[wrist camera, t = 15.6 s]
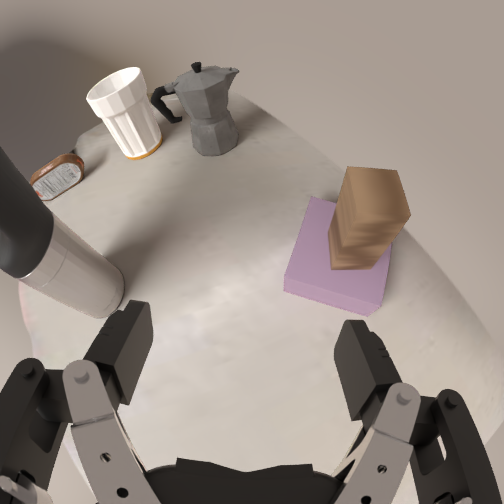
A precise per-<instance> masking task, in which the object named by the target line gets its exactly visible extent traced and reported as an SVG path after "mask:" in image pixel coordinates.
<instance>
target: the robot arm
mask: <svg viewBox="0 0 504 504" xmlns="http://www.w3.org/2000/svg"><path fill="white" fill-rule="evenodd" d="M0 269H2V270H3V271H4V272H6V273H8V274H9V275H11V276H12V277H14V278H16V279H17V280H19V281H21V282H23V283H24V284H26V285H28V286H30V287H32V288H34V289H36V290H38V291H39V292H41V293H43V294H45V295H47V296H49V297H51V298H53V299H55V300H57V301H59V302H61V303H63V304H65V305H67V306H69V307H71V308H74V309H76V310H78V311H80V312H82V313H84V314H87V315H89V316H91V317H94V318H103V317H106V316H108V315H110V314H111V313H112V312H113V311H114V310H116V308H117V307H118V305H119V304H120V302H121V300H122V297H123V293H124V280H123V276H122V274H121V272H120V271H119V270H118V268H116V267H115V266H114V265H113V264H111V263H110V262H109V261H108V260H106V259H105V258H104V257H103V256H102V255H100V254H99V253H98V252H97V251H96V250H94V249H93V248H92V247H91V246H90V245H88V244H87V243H86V242H85V241H84V240H83V239H81V238H80V237H79V236H78V235H77V234H76V233H75V232H73V231H72V230H71V229H70V228H69V227H68V226H67V225H66V224H65V223H63V222H62V221H61V220H60V219H59V218H58V217H57V216H56V215H55V214H54V213H52V212H51V211H50V210H49V209H48V208H47V207H46V206H45V205H44V203H43V202H42V200H41V199H40V197H39V196H38V194H37V193H36V191H35V190H34V188H33V187H32V186H31V185H30V184H29V182H28V181H27V180H26V179H25V178H24V177H23V175H22V174H21V173H20V172H19V171H18V169H17V168H16V167H15V166H14V164H13V163H12V162H11V160H10V159H9V158H8V156H7V155H6V154H5V152H4V151H3V149H2V148H1V147H0ZM152 342H153V326H152V319H151V311H150V305H149V303H148V302H142V301H136V300H130V301H129V303H128V304H127V306H126V307H125V309H124V311H121V310H117V311H116V312H115V313H113V314H112V315H110V316H109V317H108V319H107V320H106V322H105V324H104V326H103V327H102V328H101V330H100V332H99V334H98V335H97V336H96V338H95V340H94V341H93V343H92V345H91V346H90V348H89V350H88V351H87V353H86V355H85V356H84V358H83V360H77V361H74V362H72V363H70V364H69V365H68V366H67V367H66V368H65V369H64V370H51V369H45V368H44V366H43V364H42V363H41V362H40V361H39V360H38V359H35V358H27V359H24V360H22V361H21V362H19V363H18V364H17V365H16V367H15V368H14V370H13V372H12V373H11V375H10V377H9V379H8V380H7V382H6V384H5V385H4V387H3V389H2V391H1V393H0V504H53V501H52V499H51V497H50V495H49V494H48V493H47V489H48V485H49V481H50V478H51V474H52V471H53V467H54V464H55V461H56V457H57V454H58V451H59V448H60V445H61V442H62V439H63V436H64V433H65V431H66V428H67V425H68V423H73V425H71V433H72V436H73V440H74V443H75V446H76V449H77V452H78V455H79V458H80V460H81V463H82V466H83V468H84V471H85V473H86V476H87V478H88V481H89V483H90V485H91V488H92V490H93V492H94V494H95V496H96V499H97V501H98V503H96V504H391V503H392V501H393V498H394V496H395V494H396V492H397V490H398V487H399V485H400V483H401V480H402V478H403V475H404V473H405V470H406V468H407V465H408V462H409V461H410V465H411V469H412V473H413V477H414V482H415V486H416V491H417V495H418V500H419V504H502V500H501V497H500V493H499V489H498V486H497V482H496V479H495V476H494V473H493V470H492V467H491V464H490V461H489V458H488V456H487V453H486V450H485V448H484V445H483V443H482V440H481V438H480V435H479V433H478V431H477V428H476V426H475V424H474V421H473V419H472V417H471V415H470V412H469V410H468V408H467V406H466V404H465V402H464V400H463V398H462V396H461V395H460V394H459V393H458V392H456V391H454V390H451V389H445V390H442V391H441V392H440V393H439V394H438V396H437V397H436V398H435V397H426V396H420V395H419V393H418V391H417V390H416V389H415V388H414V387H413V386H411V385H409V384H407V383H403V382H402V380H401V378H400V376H399V374H398V372H397V370H396V368H395V365H394V363H393V361H392V359H391V357H389V356H390V355H389V353H388V351H387V350H386V347H385V345H384V343H383V341H382V339H380V338H379V337H378V336H377V335H376V334H375V333H374V332H370V331H369V329H368V327H367V325H366V323H365V321H364V320H346V321H345V322H344V324H343V327H342V329H341V332H340V335H339V337H338V340H337V342H336V345H335V348H334V360H335V364H336V367H337V371H338V374H339V377H340V381H341V384H342V388H343V391H344V395H345V398H346V402H347V406H348V409H349V413H350V417H351V420H352V421H356V420H362V423H363V425H362V426H361V428H360V430H359V432H358V433H357V435H356V437H355V439H354V441H353V443H352V444H351V446H350V448H349V450H348V451H347V453H346V455H345V457H344V458H343V460H342V461H341V463H340V464H339V466H338V467H337V468H336V469H335V471H334V472H333V473H332V475H331V476H330V475H327V474H324V473H321V472H317V471H313V467H312V464H301V465H280V466H275V467H271V468H266V469H262V470H257V471H252V472H241V471H238V470H234V469H230V468H227V467H224V466H220V465H217V464H214V463H211V462H203V461H196V460H189V459H182V458H177V462H176V465H166V466H161V467H157V468H154V469H151V470H149V471H147V470H146V468H145V466H144V464H143V463H142V461H141V459H140V457H139V456H138V454H137V452H136V450H135V448H134V447H133V445H132V443H131V440H130V438H129V436H128V434H127V432H126V430H125V428H124V426H123V423H122V421H121V419H120V417H119V414H118V412H117V410H118V407H119V404H120V403H121V404H125V405H129V404H130V401H131V399H132V396H133V393H134V390H135V387H136V385H137V382H138V379H139V377H140V374H141V371H142V369H143V366H144V363H145V361H146V358H147V356H148V353H149V350H150V348H151V345H152ZM440 435H441V438H442V441H443V444H444V447H445V450H446V459H445V461H444V458H443V454H442V451H441V448H440V445H439V442H438V439H437V438H438V437H439V436H440Z"/></svg>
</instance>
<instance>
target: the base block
mask: <svg viewBox="0 0 504 504" xmlns="http://www.w3.org/2000/svg"><path fill="white" fill-rule="evenodd" d="M336 204H337V203H334V202H330V201H327V200H323V199H319V198H316V197H312V196H311V198H310V201H309V205H308V208H307V211H306V214H305V217H304V220H303V223H302V226H301V229H300V232H299V235H298V238H297V241H296V244H295V247H294V249H293V252H292V255H291V258H290V261H289V264H288V267H287V269H286V272H285V275H284V291H285V292H288V293H291V294H294V295H297V296H301V297H304V298H307V299H310V300H313V301H317V302H320V303H323V304H326V305H330V306H333V307H336V308H340V309H343V310H346V311H350V312H353V313H356V314H360V315H363V316H369V315H370V314H371V313H373V312H374V311H375V310H377V309H378V308H379V307H380V306H381V304H382V299H383V295H384V289H385V284H386V279H387V273H388V267H389V261H390V254H391V247H392V242H391V244H390V245H389V246H388V248H387V249H386V250H385V252H384V253H383V254H382V256H381V257H380V258H379V260H378V261H377V262H376V263H375V265H374V266H373V267H372V268H371V270H331V264H330V252H329V241H328V230H329V227H330V223H331V220H332V217H333V214H334V211H335V207H336Z"/></svg>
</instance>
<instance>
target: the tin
mask: <svg viewBox="0 0 504 504" xmlns="http://www.w3.org/2000/svg"><path fill="white" fill-rule="evenodd" d="M83 174H84V162H83V160H82V159H81V158H80V157H79V156H77V155H75V154H63V155H60V156H59V157H57V158H56V159H54V160H53V161H51V162H50V163H48V164H47V165H45V166H44V167H42V168H41V169H39V170H38V171H37V172H35V173H34V174H33V176H32V177H31V180H30V185H31V186H32V187H33V188H34V190H35V191H36V193H37V194H38V196H39V197H40V199H41V200H42V201H49V200H52V199H54V198H56V197H57V196H59V195H60V194H62V193H63V192H65V191H67V190H68V189H70V188H72V187H73V186H75V185H77V184H78V183H79V182H80V181H81V180H82V178H83Z"/></svg>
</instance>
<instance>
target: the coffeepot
mask: <svg viewBox="0 0 504 504" xmlns="http://www.w3.org/2000/svg"><path fill="white" fill-rule="evenodd" d="M191 66H192V68H193V70H191V71H189V72H186V73H184V74H182V75H180V76H178V78H177V79H176V81H175V82H171V83H168V84H166V85H165V86H162V87H158V88H156V89H155V91H154V93H153V95H152V97H151V103H152V105H153V106H154V107H156V108H157V109H158V110H159V111H160V112H161V113H162V114H163V115H164V116H165V117H166V118H167V119H168V120H169V121H170V122H171V123H172V124H173V123H177V122H180V121H182V116H181V117H174V116H173V113H172V111H171V110H170V109H168V108H167V107H166V105H165V103H164V102H163V101H162V100H161V97H162V96H165V95H171V94H175V93H176V95H177V96H178V98H179V100H180V102H181V104H182V106H183V107H184V109H185V111H186V113H187V114H188V115H189V116H191V132H192V141H193V147H194V148H195V149H196V150H197V151H198V152H199V153H200V154H202V155H204V156H217V155H221V154H224V153H226V152H228V151H230V150H231V149H232V148H233V147H234V146H236V144H237V141H238V135H239V133H238V131H237V128H236V126H235V124H234V121H233V119H232V117H231V114H230V112H229V111H228V110H227V104H228V90H229V88H230V85H231V83H232V81H233V79H234V77H235V76H236V74H237V73H239V70H238V69H236V68H220V67H218V66H208V67H201V62H195V63H193V64H192V65H191Z"/></svg>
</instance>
